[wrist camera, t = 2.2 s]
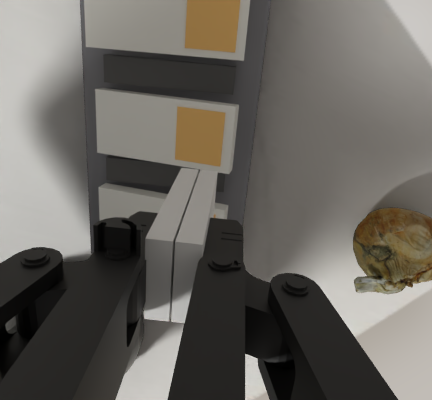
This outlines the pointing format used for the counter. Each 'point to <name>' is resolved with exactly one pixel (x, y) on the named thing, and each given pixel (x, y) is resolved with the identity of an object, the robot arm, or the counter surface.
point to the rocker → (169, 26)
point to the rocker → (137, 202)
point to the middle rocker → (166, 129)
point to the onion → (393, 250)
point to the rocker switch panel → (177, 87)
